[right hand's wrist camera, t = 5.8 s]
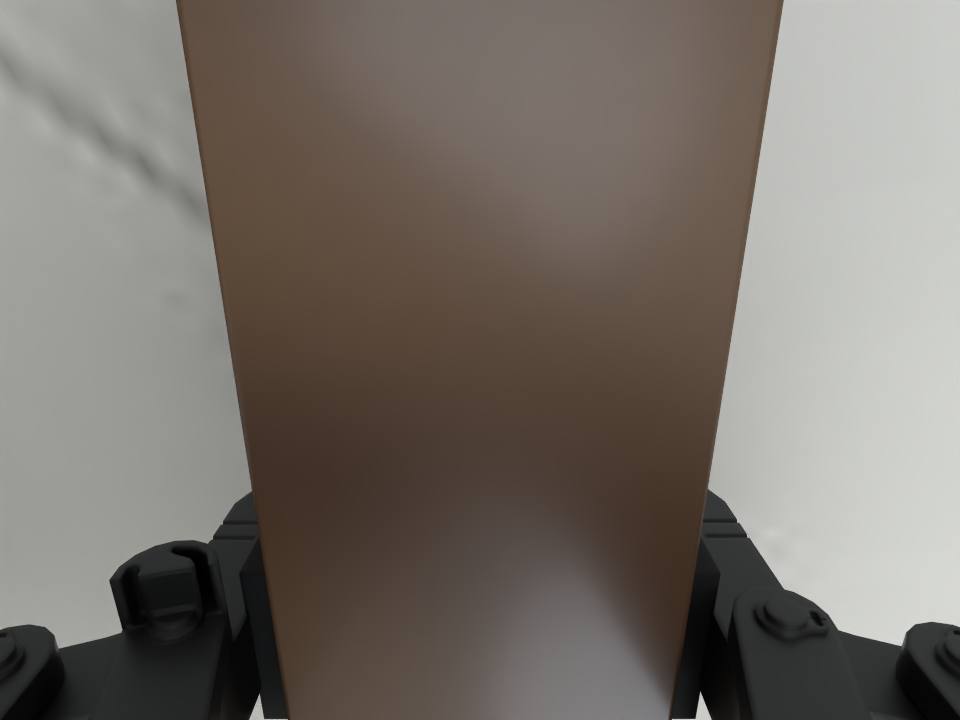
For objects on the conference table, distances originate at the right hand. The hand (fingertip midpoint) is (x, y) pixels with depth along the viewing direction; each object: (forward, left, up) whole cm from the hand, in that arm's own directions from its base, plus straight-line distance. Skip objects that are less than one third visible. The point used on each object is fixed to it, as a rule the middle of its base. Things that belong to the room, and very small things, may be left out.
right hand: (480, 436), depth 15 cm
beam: (+3, +25, -1) cm, 25 cm away
